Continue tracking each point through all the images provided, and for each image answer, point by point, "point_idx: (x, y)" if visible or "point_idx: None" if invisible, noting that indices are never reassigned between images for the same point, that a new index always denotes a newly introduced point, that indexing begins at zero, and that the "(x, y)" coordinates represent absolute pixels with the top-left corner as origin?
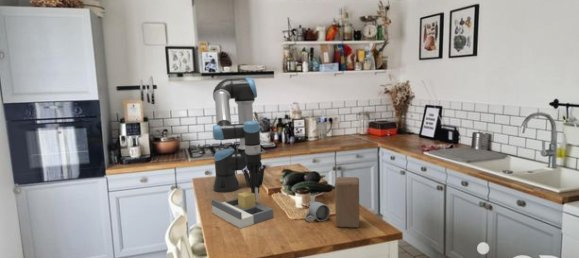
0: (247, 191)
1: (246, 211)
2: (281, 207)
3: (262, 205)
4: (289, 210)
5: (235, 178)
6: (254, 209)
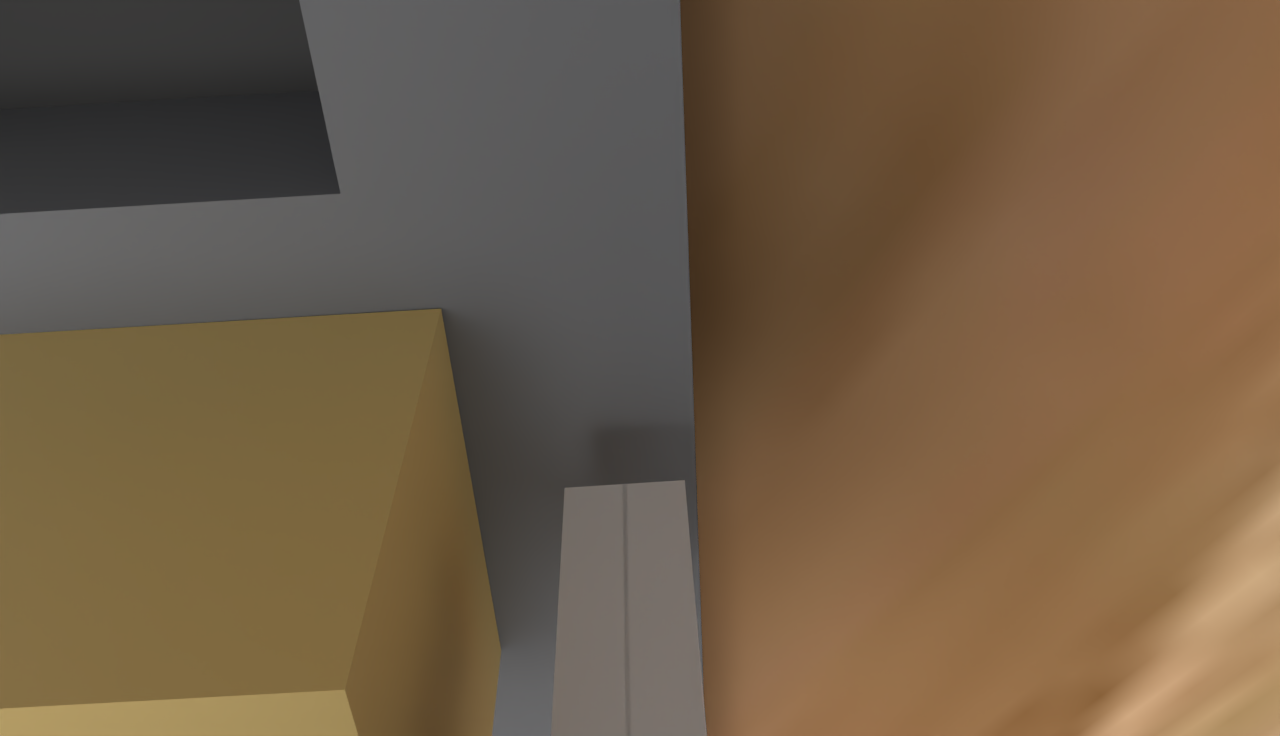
0: (278, 727)
1: None
2: (1273, 516)
3: None
4: (1213, 731)
5: None
6: None
